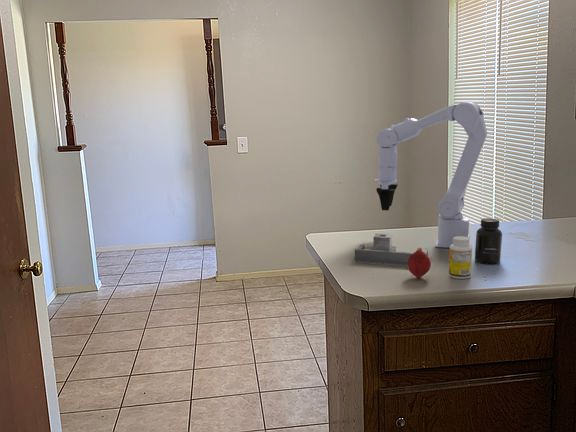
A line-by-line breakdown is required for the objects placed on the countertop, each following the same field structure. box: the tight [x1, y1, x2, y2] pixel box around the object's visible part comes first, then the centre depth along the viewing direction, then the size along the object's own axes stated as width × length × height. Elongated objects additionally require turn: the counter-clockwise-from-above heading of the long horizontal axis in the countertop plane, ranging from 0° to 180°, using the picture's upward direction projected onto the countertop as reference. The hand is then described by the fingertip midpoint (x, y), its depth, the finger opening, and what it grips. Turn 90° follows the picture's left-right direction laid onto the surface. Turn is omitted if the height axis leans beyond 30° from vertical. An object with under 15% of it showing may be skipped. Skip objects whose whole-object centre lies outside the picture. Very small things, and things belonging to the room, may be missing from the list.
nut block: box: [372, 233, 393, 251], centre depth 174 cm, size 5×5×4 cm
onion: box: [407, 247, 432, 279], centre depth 144 cm, size 6×6×8 cm
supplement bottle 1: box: [448, 236, 473, 280], centre depth 144 cm, size 6×6×10 cm
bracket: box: [353, 243, 429, 267], centre depth 160 cm, size 20×10×4 cm, turn 72°
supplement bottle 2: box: [474, 217, 503, 265], centre depth 157 cm, size 7×7×12 cm
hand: (386, 208), depth 183 cm, fingers open, 7 cm apart
